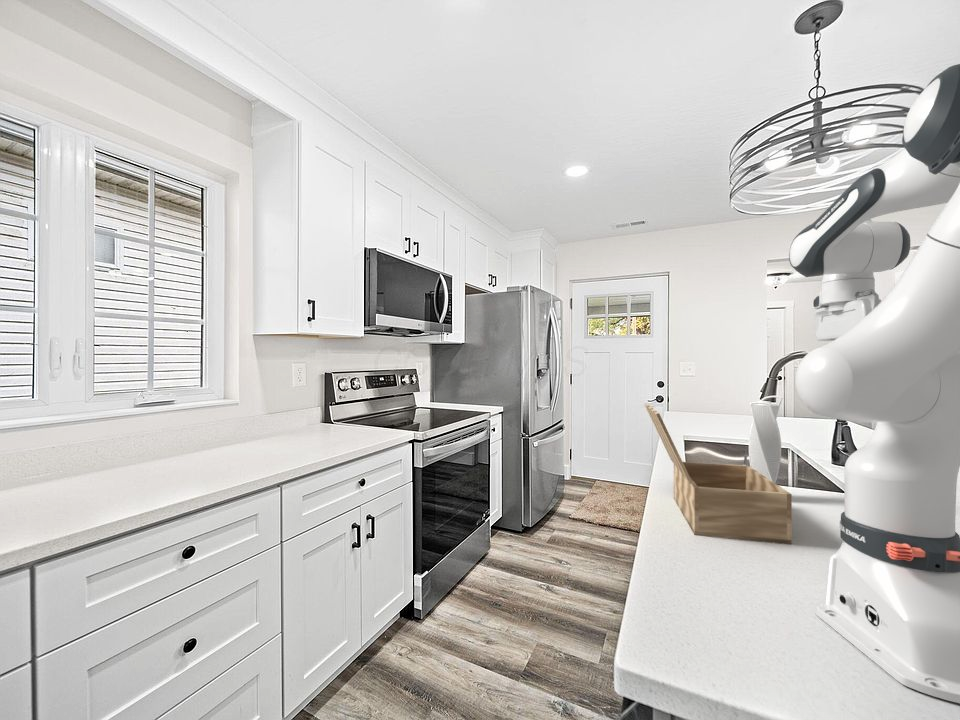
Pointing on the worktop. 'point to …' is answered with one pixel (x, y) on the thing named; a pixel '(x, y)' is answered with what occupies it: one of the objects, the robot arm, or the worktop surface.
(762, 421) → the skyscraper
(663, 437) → the lid flap
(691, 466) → the wooden box
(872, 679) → the worktop surface
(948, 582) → the robot arm
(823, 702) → the worktop surface
